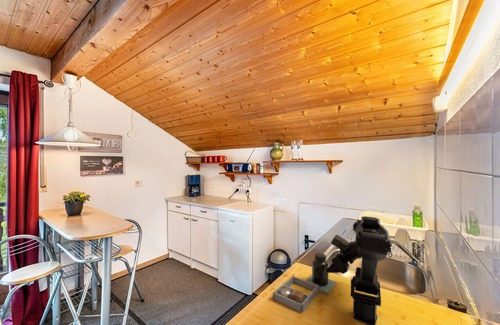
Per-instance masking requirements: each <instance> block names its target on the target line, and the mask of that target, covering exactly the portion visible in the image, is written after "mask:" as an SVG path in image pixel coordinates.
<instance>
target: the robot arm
mask: <svg viewBox="0 0 500 325" xmlns="http://www.w3.org/2000/svg"><path fill="white" fill-rule="evenodd" d="M352 231H353V232H354V233H355V240H354V241H350V242H349V241H348V240H346V239H345V238H343V237H341V235H338V234H335V235H334V237H333V238H332V239H331V242H330V244H331V245H332V246H334V247H335V248H337V249H339V253H336V254H335V255H334V256H333V257H332V258H331V263H330V265H328V268H327V270H326V272H327V273H328V274H332V273H334V274H335V273H339V274H340V273H341V274H343V275H344V274H345V273H347V272H348V271H349V269H350V265H352V264H354V262H355V261H356V260H358V259H359V260H360V259H361V263H360V266H357V267H356V268H355V272H354V273H355V274H354V275H353V276H352V277H351V279H350V297H351V298H352V300H353V301H352V302H353V304H352V305H353V306H352V309H353V310H352V312H353V319H355V320H358V321H360V322H363V323H364V324H366V325H376V323H377V320H378V312H377V310H378V308H377V306H378V307H381V306H382V295H381V283H380V281H379V279H378V275H377V270H378V268H377V267H378V264H379V262H380V261H383V260H386V258H387V256H388V254H389V253H390V252H391V240H390V234H389V231H388V230H387V228H385V227H384V226H383V225H382V224H381V223H380V218H377V217H374V216H366V215H365V216H360V219H356V221H355V222H354V223H353V224H352Z"/></svg>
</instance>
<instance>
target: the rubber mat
mask: <svg viewBox="0 0 500 325" xmlns="http://www.w3.org/2000/svg"><path fill="white" fill-rule="evenodd" d="M305 280H306V281H308V282H311V283H313V282H312V273H311V275H309V277H307V278H306V279H305ZM336 284H337V281H335V280H332V279H330V278H328V284H327V285H326V286H319V292H321V293H324V294H327V295H329V294H330V292H331V291H332V290H333V288H334V287H335V285H336Z"/></svg>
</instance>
